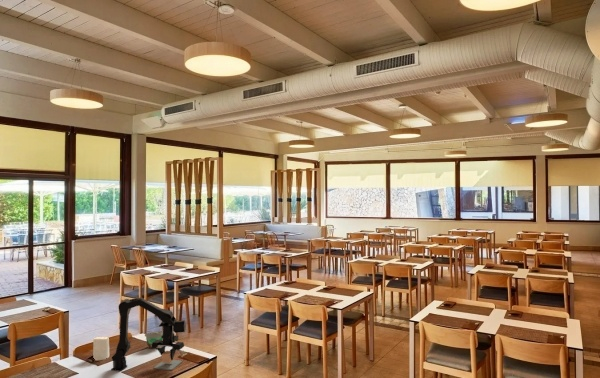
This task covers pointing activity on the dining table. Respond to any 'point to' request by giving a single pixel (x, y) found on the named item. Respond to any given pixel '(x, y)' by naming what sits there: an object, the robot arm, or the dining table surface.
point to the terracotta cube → (166, 357)
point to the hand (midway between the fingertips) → (168, 359)
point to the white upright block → (101, 348)
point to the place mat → (168, 365)
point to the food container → (153, 338)
